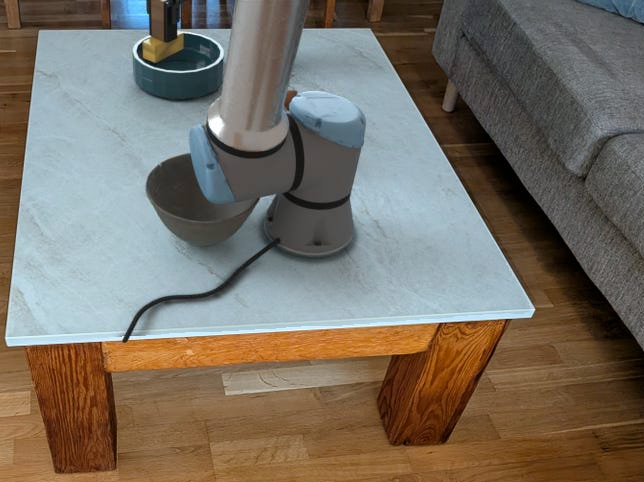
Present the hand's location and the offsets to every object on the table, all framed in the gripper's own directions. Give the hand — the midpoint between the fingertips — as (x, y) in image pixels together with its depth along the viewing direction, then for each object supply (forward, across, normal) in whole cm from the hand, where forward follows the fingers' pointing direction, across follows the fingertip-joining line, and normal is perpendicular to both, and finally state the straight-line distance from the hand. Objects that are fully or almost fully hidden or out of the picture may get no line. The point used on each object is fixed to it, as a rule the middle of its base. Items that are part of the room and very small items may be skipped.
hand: (163, 36), depth 124 cm
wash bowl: (+18, +11, -16) cm, 27 cm away
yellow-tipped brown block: (+3, 0, 0) cm, 3 cm away
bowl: (+18, -28, +22) cm, 40 cm away
